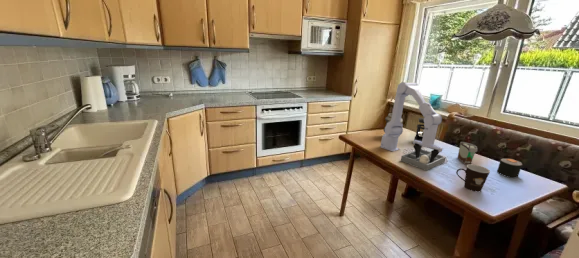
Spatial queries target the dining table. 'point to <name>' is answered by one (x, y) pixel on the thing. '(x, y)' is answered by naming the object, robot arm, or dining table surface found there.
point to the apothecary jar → (390, 119)
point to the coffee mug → (474, 177)
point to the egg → (424, 159)
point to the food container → (466, 152)
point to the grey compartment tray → (414, 161)
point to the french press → (419, 130)
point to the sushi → (509, 167)
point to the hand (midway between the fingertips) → (424, 159)
